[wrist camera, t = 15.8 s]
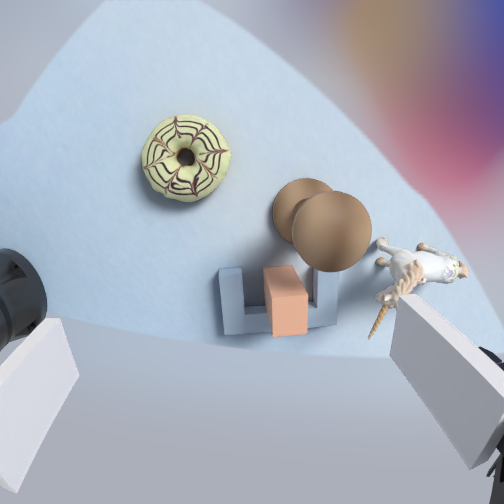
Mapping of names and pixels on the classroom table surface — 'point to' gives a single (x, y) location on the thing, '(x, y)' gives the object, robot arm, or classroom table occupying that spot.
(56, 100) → the classroom table surface
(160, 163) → the decorated donut
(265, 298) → the tab
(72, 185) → the classroom table surface
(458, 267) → the unicorn figurine
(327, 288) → the u-shaped block
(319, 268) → the bobbin
